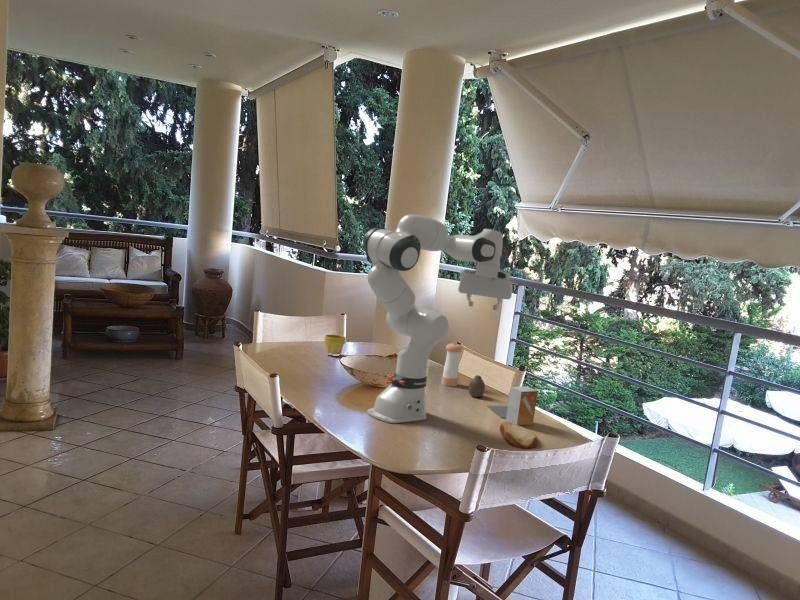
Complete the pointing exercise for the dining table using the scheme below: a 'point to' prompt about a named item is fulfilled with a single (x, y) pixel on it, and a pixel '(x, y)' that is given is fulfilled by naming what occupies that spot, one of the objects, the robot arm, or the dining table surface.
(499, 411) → the mat
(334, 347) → the plant pot
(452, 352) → the pepper shaker
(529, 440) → the bread slice
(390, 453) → the dining table surface
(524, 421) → the small box
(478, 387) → the avocado
